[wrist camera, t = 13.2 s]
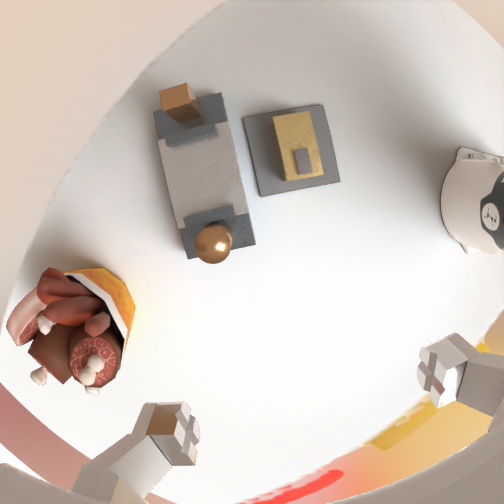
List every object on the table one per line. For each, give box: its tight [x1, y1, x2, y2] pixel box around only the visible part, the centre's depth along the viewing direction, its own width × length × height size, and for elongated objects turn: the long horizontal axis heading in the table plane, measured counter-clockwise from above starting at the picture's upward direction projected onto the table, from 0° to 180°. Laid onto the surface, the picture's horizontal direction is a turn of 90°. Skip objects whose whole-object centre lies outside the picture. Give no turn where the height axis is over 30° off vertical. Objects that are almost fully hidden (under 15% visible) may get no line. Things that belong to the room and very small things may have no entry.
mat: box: [243, 105, 340, 197], centre depth 35 cm, size 11×11×1 cm
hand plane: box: [154, 83, 256, 264], centre depth 32 cm, size 20×9×10 cm, turn 12°
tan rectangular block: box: [270, 111, 324, 181], centre depth 33 cm, size 8×4×5 cm, turn 12°
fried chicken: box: [6, 268, 135, 396], centre depth 31 cm, size 20×16×20 cm
